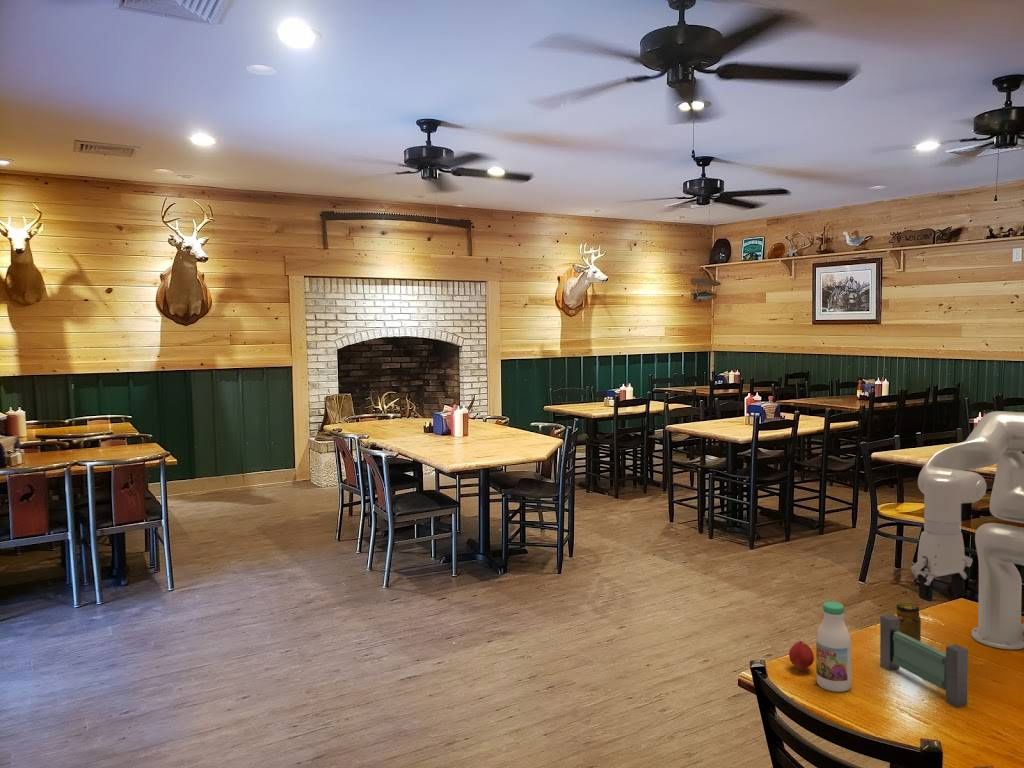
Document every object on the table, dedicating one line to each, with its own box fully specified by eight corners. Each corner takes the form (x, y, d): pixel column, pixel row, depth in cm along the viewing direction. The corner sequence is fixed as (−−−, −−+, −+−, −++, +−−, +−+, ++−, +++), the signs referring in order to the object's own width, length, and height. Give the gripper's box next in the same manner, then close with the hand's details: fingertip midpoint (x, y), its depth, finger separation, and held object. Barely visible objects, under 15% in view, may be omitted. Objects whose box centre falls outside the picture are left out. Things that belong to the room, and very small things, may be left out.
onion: (785, 665, 188) (784, 635, 187) (806, 664, 188) (806, 633, 188) (795, 676, 182) (795, 645, 181) (818, 674, 182) (818, 643, 182)
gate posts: (889, 663, 187) (889, 613, 186) (967, 705, 166) (967, 649, 165) (880, 665, 186) (880, 615, 185) (957, 707, 165) (957, 651, 164)
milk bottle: (824, 674, 183) (823, 596, 181) (856, 684, 177) (856, 603, 175) (811, 685, 177) (810, 605, 176) (843, 696, 172) (843, 613, 170)
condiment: (900, 641, 199) (900, 598, 198) (933, 651, 192) (934, 607, 191) (888, 650, 194) (888, 606, 193) (922, 660, 188) (922, 615, 187)
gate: (949, 689, 169) (949, 655, 169) (942, 690, 169) (942, 657, 168) (898, 662, 183) (898, 631, 182) (892, 663, 182) (892, 632, 182)
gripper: (957, 518, 181) (957, 586, 182) (900, 527, 176) (900, 596, 177) (984, 526, 173) (984, 597, 175) (925, 535, 169) (925, 607, 170)
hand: (941, 596), depth 176 cm, fingers open, 9 cm apart
